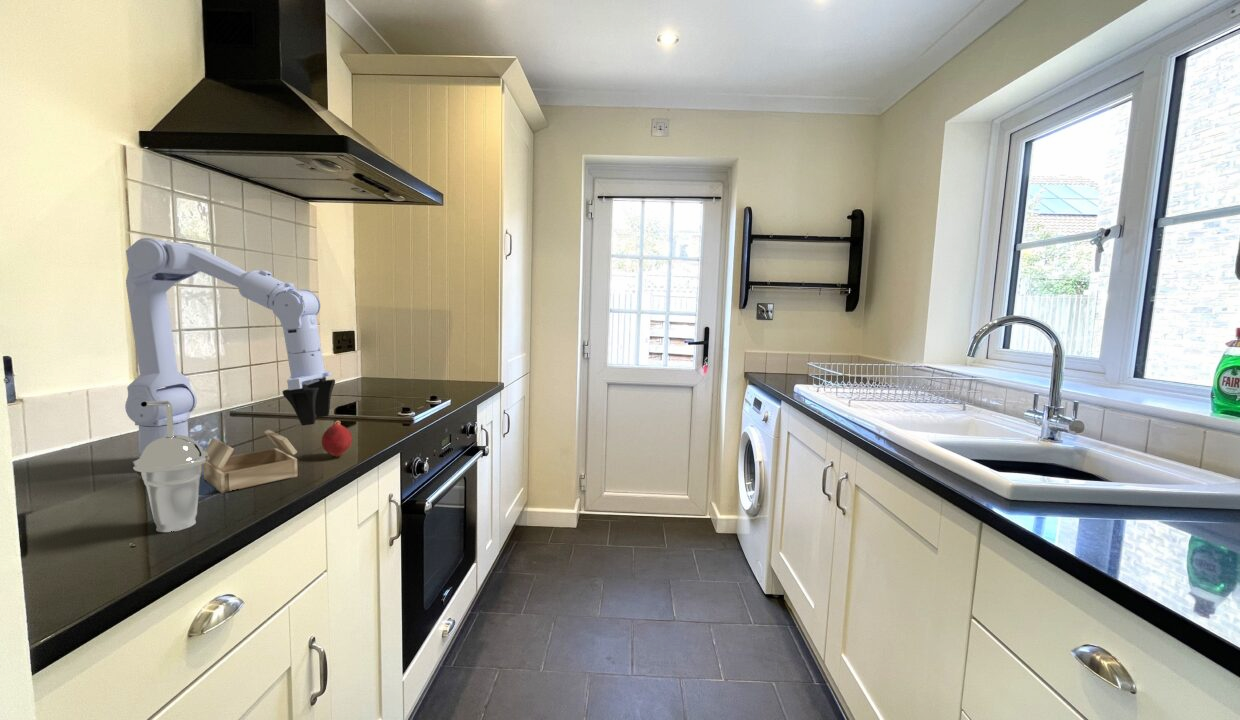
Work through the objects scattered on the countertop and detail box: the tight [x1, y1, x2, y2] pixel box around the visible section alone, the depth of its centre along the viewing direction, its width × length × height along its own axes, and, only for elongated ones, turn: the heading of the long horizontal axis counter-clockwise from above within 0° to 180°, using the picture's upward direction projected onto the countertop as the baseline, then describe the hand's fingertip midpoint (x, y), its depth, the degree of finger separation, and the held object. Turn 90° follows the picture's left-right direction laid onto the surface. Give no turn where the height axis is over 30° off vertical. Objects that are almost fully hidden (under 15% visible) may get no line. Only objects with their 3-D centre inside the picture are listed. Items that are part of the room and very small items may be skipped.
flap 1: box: [204, 437, 235, 469], centre depth 92 cm, size 9×4×1 cm
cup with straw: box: [132, 401, 209, 533], centre depth 75 cm, size 8×9×20 cm
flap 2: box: [264, 429, 298, 456], centre depth 100 cm, size 9×4×1 cm
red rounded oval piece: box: [321, 420, 353, 458], centre depth 111 cm, size 6×6×8 cm
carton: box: [202, 447, 299, 494], centre depth 97 cm, size 11×12×4 cm
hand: (315, 420), depth 101 cm, fingers open, 7 cm apart
